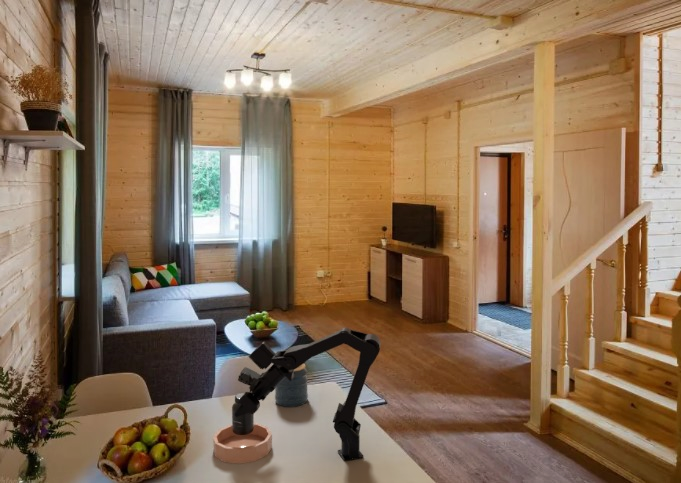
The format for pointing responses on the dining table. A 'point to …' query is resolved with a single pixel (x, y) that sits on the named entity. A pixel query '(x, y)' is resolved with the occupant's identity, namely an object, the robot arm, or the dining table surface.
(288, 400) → the canister
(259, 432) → the terracotta bowl
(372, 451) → the dining table surface
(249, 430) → the supplement bottle
